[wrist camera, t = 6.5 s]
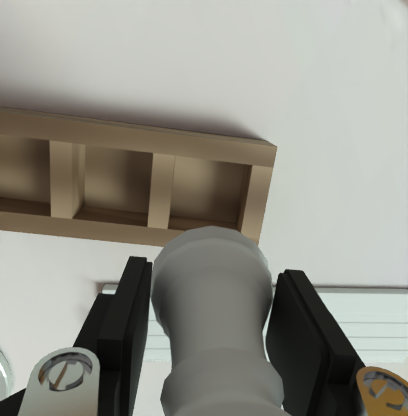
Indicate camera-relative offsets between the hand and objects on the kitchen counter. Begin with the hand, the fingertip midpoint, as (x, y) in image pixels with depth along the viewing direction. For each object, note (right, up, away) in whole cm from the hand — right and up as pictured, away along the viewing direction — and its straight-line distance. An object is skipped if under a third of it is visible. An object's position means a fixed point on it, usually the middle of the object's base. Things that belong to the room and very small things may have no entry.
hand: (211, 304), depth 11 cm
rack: (-7, +6, +16) cm, 18 cm away
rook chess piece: (0, +1, +2) cm, 2 cm away
